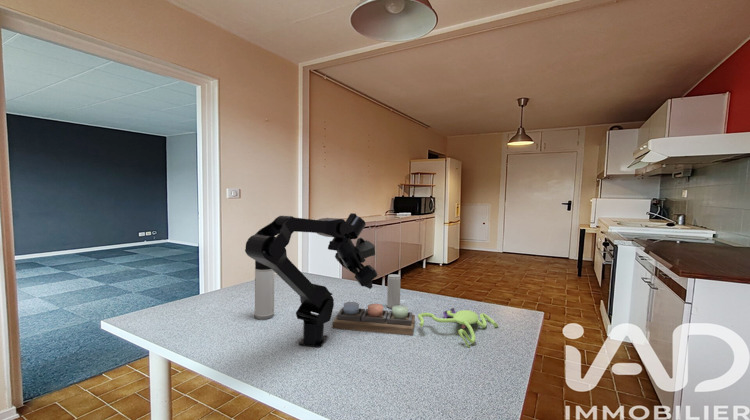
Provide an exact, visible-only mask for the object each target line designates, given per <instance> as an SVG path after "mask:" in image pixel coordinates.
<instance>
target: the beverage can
mask: <svg viewBox="0 0 750 420" xmlns="http://www.w3.org/2000/svg"><path fill="white" fill-rule="evenodd" d="M386 293H387V297H386V298H387V299H386V301H387V302H386V304H387V306H386V307H388V309H391V310H392V307H393V306H397V305H401V275H400V274H396V273H395V274H393V273H391V274H388V276H387V292H386Z"/></svg>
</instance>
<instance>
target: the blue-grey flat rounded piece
mask: <svg viewBox="0 0 750 420" xmlns="http://www.w3.org/2000/svg"><path fill="white" fill-rule="evenodd" d="M343 307H344V313H345V314H349V315H353V314H357V313H359V308H360V303H358V302H356V301H348V302H344V303H343Z"/></svg>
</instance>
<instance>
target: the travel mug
mask: <svg viewBox="0 0 750 420" xmlns="http://www.w3.org/2000/svg"><path fill="white" fill-rule="evenodd" d="M254 265H255V266H254V267H255V268H254V318H255V319H256V320H260V321H261V320H262V321H263V320H270V319H272V318H273V317H274V316H275V272H274V271H273V270H272V269H271V268H270V267H268V266H266V265H264V264H262V263H259V262H257V261H256V260H254Z"/></svg>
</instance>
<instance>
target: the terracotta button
mask: <svg viewBox="0 0 750 420" xmlns="http://www.w3.org/2000/svg"><path fill="white" fill-rule="evenodd" d="M367 309H368V315H369V316H374V317H378V316H382V315H383V310H384V306H383V304H380V303H369V304H368V305H367Z"/></svg>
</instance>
